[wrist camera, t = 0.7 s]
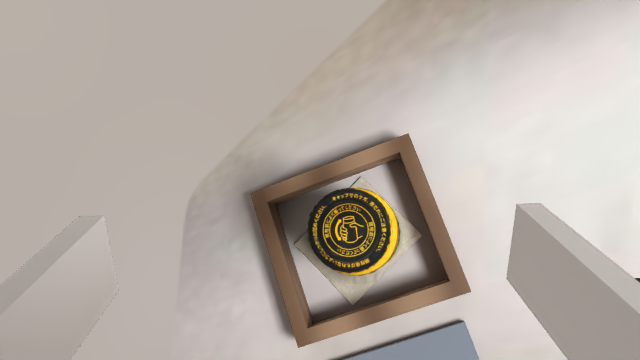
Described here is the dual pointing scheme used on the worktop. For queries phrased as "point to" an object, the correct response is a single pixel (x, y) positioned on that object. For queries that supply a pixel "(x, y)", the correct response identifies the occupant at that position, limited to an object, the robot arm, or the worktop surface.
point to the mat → (427, 346)
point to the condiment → (356, 238)
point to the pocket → (378, 311)
